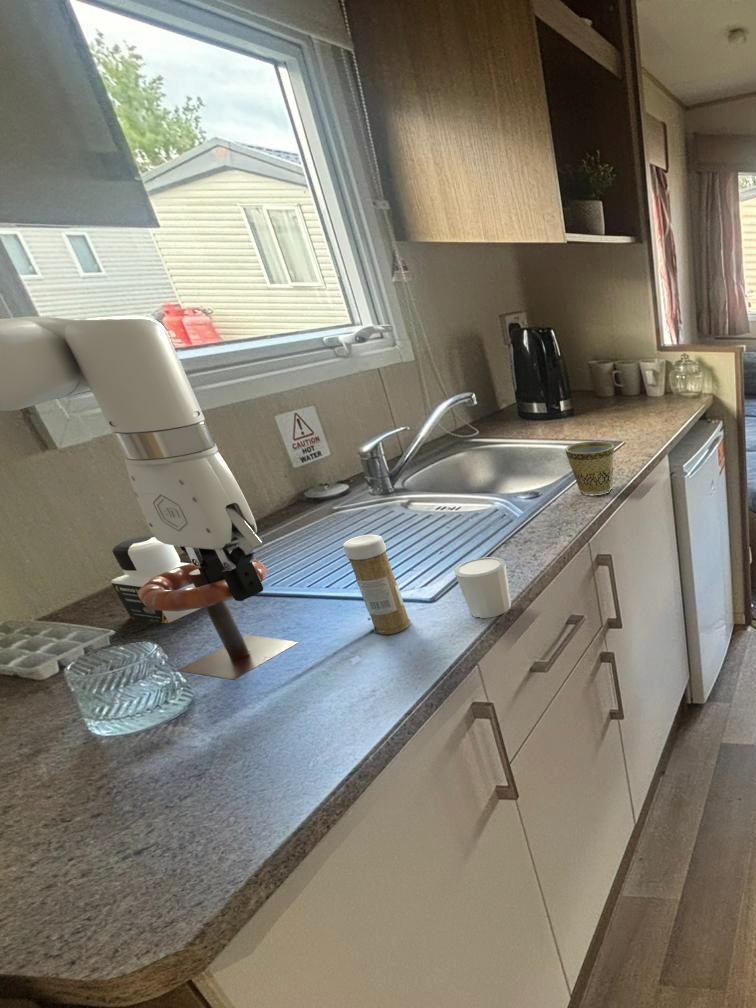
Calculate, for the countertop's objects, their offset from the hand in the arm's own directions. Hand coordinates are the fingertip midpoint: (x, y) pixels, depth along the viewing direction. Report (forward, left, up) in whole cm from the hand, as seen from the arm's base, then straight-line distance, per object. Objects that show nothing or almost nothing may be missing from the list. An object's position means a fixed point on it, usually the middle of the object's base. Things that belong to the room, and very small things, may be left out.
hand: (238, 593), depth 79 cm
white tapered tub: (+17, +20, -11) cm, 29 cm away
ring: (-5, 0, +1) cm, 5 cm away
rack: (-5, 0, -11) cm, 12 cm away
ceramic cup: (+5, +74, -11) cm, 75 cm away
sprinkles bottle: (+7, +12, -11) cm, 18 cm away
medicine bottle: (-27, +8, -11) cm, 30 cm away
